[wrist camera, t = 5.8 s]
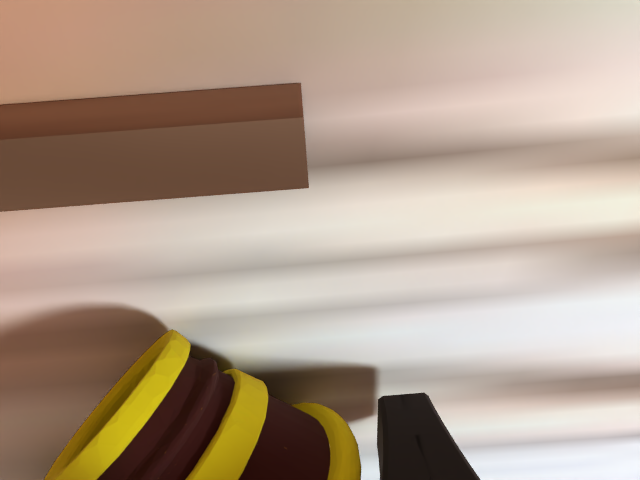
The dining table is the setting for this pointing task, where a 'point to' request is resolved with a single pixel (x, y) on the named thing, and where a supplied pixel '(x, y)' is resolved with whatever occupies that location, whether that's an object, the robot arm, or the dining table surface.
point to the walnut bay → (152, 147)
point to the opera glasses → (204, 428)
